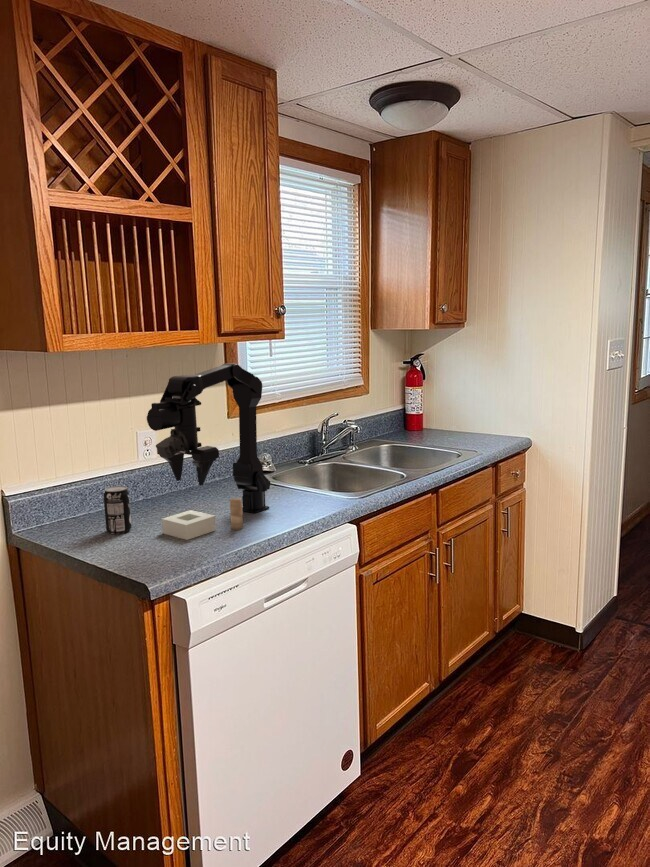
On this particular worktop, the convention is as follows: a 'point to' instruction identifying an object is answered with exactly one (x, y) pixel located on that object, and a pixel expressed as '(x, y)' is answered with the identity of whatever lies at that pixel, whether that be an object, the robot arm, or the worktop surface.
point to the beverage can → (117, 509)
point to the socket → (188, 524)
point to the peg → (236, 513)
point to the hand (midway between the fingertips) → (189, 482)
